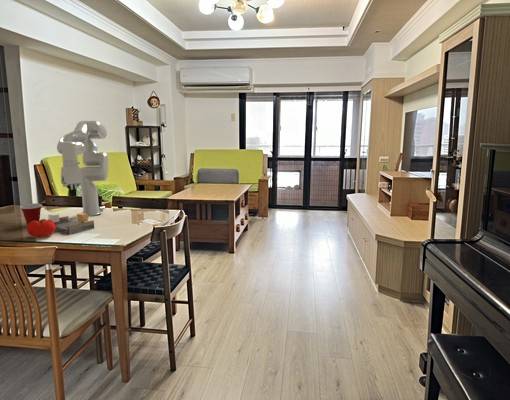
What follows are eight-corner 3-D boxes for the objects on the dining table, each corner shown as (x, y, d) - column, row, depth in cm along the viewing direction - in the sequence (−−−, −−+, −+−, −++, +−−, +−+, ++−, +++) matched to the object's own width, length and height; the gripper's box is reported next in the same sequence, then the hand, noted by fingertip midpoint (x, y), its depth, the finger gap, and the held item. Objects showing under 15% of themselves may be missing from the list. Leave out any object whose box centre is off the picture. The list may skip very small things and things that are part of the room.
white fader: (54, 222, 197) (53, 213, 196) (59, 223, 194) (58, 214, 193) (49, 223, 194) (48, 214, 193) (54, 224, 192) (53, 215, 191)
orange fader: (82, 222, 198) (81, 213, 197) (88, 223, 195) (87, 213, 194) (77, 223, 195) (76, 214, 194) (83, 224, 193) (82, 214, 192)
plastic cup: (20, 228, 195) (18, 207, 193) (23, 224, 205) (20, 204, 203) (43, 226, 200) (41, 205, 198) (44, 222, 210) (42, 202, 208)
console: (67, 223, 207) (67, 216, 206) (94, 228, 196) (93, 220, 195) (42, 229, 194) (41, 221, 193) (69, 234, 183) (68, 226, 182)
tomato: (63, 232, 186) (61, 216, 184) (48, 239, 173) (47, 222, 172) (38, 232, 186) (36, 216, 185) (21, 239, 174) (19, 222, 172)
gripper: (79, 163, 204) (81, 194, 207) (53, 164, 192) (56, 197, 195) (86, 163, 200) (89, 195, 203) (61, 165, 188) (64, 198, 191)
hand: (73, 196), depth 199 cm, fingers closed
